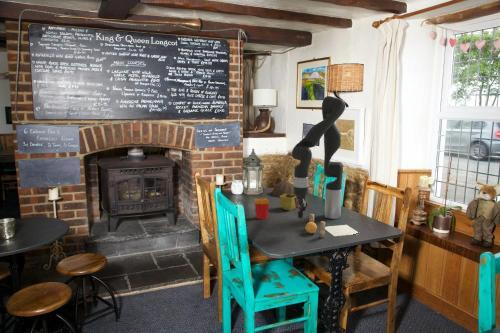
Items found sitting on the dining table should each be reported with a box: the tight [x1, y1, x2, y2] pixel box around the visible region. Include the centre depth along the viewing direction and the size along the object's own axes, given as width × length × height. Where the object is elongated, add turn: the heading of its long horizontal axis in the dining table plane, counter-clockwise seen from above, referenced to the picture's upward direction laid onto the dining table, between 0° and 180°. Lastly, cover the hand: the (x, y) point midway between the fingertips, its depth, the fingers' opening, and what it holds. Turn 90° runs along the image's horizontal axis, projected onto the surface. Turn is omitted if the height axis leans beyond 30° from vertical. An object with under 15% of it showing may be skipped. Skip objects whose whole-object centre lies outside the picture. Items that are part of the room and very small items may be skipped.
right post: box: [319, 220, 326, 239], centre depth 201 cm, size 3×3×8 cm
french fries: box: [254, 197, 270, 220], centre depth 232 cm, size 8×4×12 cm, turn 94°
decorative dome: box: [271, 181, 294, 198], centre depth 288 cm, size 19×20×10 cm
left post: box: [308, 213, 315, 223], centre depth 214 cm, size 3×3×8 cm
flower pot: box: [279, 194, 296, 211], centre depth 250 cm, size 9×9×9 cm
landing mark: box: [325, 224, 358, 238], centre depth 211 cm, size 15×15×1 cm
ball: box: [304, 222, 318, 235], centre depth 207 cm, size 6×6×6 cm
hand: (300, 217), depth 205 cm, fingers closed
